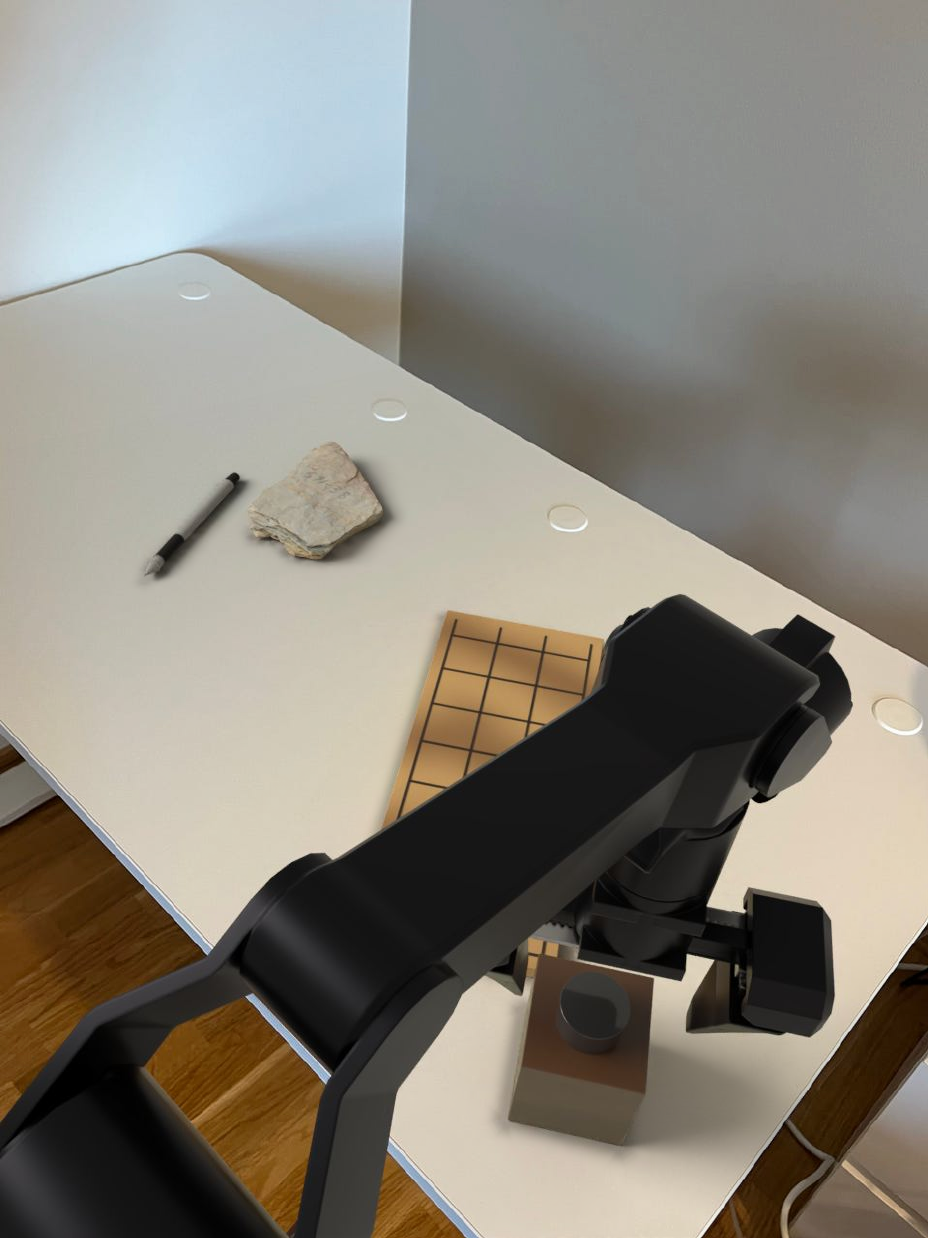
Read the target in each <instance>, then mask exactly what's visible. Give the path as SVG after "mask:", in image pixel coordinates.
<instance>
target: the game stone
mask: <svg viewBox="0 0 928 1238" xmlns="http://www.w3.org/2000/svg"><path fill="white" fill-rule="evenodd" d="M629 1017H630V1002H629V999H628V996H627V994H626V992H625V990H624V989H623V988H622V986H621V985H620V984H619V983H618V982H617V981H616V980H614V979H613V978H611V977H610V976H608V975H605V974H603V973H599V972H583V973H580V974H577V975H575V976H573V977H572V978H571V979H569V980H568V981H567V983H566V984H565V985H564V987H563V989H562V991H561V995H560V998H559V1002H558V1005H557V1009H556V1024H557V1028H558V1031H559V1033H560V1035H561V1036H562V1038H563V1039H564V1040H565V1041H566V1042H567V1043H568V1044H569V1045H570V1046H571V1047H573V1048H574V1049H576V1050H578V1051H580V1052H583V1053H587V1054H601V1053H605V1052H607V1051H609V1050H611V1049H613V1048H614V1047H615V1046H616V1045H617V1044H618V1043H619V1041H620V1040H621V1038H622V1036H623V1033H624V1031H625V1028H626V1026H627V1023H628V1020H629Z"/></svg>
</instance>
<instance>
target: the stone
mask: <svg viewBox="0 0 928 1238" xmlns="http://www.w3.org/2000/svg"><path fill="white" fill-rule="evenodd" d="M246 513H247V515H248V517H249V519H251V520H250V526H249V528H250V530H253V536H254V537H255V538H256V539H262V538H268V537H271V538H272V539H274V540H277V541H279V542H280V544H282V545H284V547H285V550H286V552H288V553H289V554H290V555H291V556H292V557H293V556H294V557H302V558H305V559H306V558H307V559H310V560H311V559H312V560H321V559H323V558H324V557H325V556H326V555H327V554H328V553H330V552H331V550H333V549H334V547H337V546H339V545H340V544H342V543H343V542H345V541H346V540H348V539H349V538H350V537H352V536H353V535H355V534H357V533H359V532H362V531H363V530H365V529H367V528H370V527H371V526H373V525H374V524H377V523H378V522H380V521H381V518H382V517H383V513H384V511H383V507H382V505H381V503H380V502H379V499H378V498H377V496H376V494H375V492H374V491H373V490H372V489H371V487H370V484H369V482H368V481H366V479H365V478H364V477H363V475H362V473H361V472H360V470H359V468H357V465H355V463H354V462H353V460H352V459H351V457H350V456H349V454H348V453H347V451H345V449H343V447H342V446H341V445H340V444H339V443H338V442H336V441H327V442H325V443H323V444H321V445H320V446H318V447H313V448H312V449H311V450H309V451H308V452H307V454H306V455H305V456H304V458H303V459H302V461H300V462H298V463H297V464H296V465H295V466H294V467H293V469H292V470H291V471H290V472H289V473H288V474H287V475H286V476H285V477H284V478H283V479H281V480H279V481H278V482H276V483H274V484H273V485H271V486H269V487H266V488H265V489H263V490H262V491H261V492H260V494H259V496H258V497H257V499H256V500H254V501H253V502H252V503H251V504H250V506H249V507H248V508H247V510H246Z"/></svg>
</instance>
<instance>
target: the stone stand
mask: <svg viewBox="0 0 928 1238" xmlns="http://www.w3.org/2000/svg"><path fill="white" fill-rule="evenodd" d="M583 972H599V973H603V974H605V975H608V976H610V977H611V978H613V979H614V980H616V981H617V982H618V983H619V984H620V985H621V986H622V988H623V989H624V990H625V992H626V994H627V996H628V999H629V1002H630V1017H629V1020H628V1023H627V1026H626V1028H625V1031H624V1033H623V1036H622V1038H621V1040H620V1041H619V1043H618V1044H617V1045H616V1046H615V1047H614V1048H613V1049H611V1050H609V1051H607V1052H605V1053H601V1054H587V1053H583V1052H580V1051H578V1050H576V1049H574V1048H573V1047H571V1046H570V1045H569V1044H568V1043H567V1042H566V1041H565V1040H564V1039H563V1038H562V1036H561V1035H560V1033H559V1031H558V1028H557V1024H556V1009H557V1005H558V1002H559V998H560V995H561V991H562V989H563V987H564V985H565V984H566V983H567V981H568V980H569V979H571V978H572V977H573V976H575V975H577V974H580V973H583ZM654 986H655V977H652V976H648V975H642V974H637V973H633V972H627V971H623V970H619V969H616V968H615V969H614V968H611V967H610V968H609V967H604V966H600V965H596V964H592V963H586V962H582V961H577V960H572V959H568V958H563V957H558V956H557V957H554V956H549V955H545V954H539V955H538V959H537V964H536V968H535V972H534V977H532V982H531V985H530V989H529V994H528V999H527V1003H526V1007H525V1011H524V1017H523V1024H522V1028H521V1034H520V1035H521V1036H520V1041H519V1048H518V1054H517V1059H516V1067H515V1072H514V1077H513V1083H512V1084H513V1085H512V1090H511V1096H510V1103H509V1108H508V1114H507V1115H508V1116H507V1120H508V1121H510V1122H514V1123H518V1124H523V1125H527V1126H532V1127H537V1128H541V1129H544V1130H548V1131H549V1130H550V1131H553V1132H558V1133H562V1134H567V1135H570V1136H575V1137H579V1138H585V1139H589V1140H593V1141H597V1142H602V1143H606V1144H610V1145H614V1146H619V1147H622V1145H623V1143H624V1141H625V1139H626V1137H627V1134H628V1132H629V1130H630V1128H631V1127H632V1124H633V1121H634V1120H635V1118H636V1115H637V1113H638V1111H639V1108H640V1107H641V1105H642V1102H643V1100H644V1098H645V1095H646V1093H647V1080H648V1068H649V1056H650V1055H649V1053H650V1041H651V1027H652V1015H653V1014H652V1013H653V1001H654Z"/></svg>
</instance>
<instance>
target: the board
mask: <svg viewBox="0 0 928 1238" xmlns="http://www.w3.org/2000/svg"><path fill="white" fill-rule="evenodd" d="M604 641H605V639H604V638H601V637H595V636H589V635H585V634H580V633H573V632H569V631H562V630H557V629H551V628H547V627H541V626H536V625H530V624H525V623H520V622H514V621H509V620H503V619H499V618H493V617H487V616H481V615H476V614H470V613H467V612H459V611H455V610H449V609H447V611H446V613H445V616H444V620H443V624H442V627H441V629H440V633H439V637H438V640H437V643H436V646H435V650H434V653H433V656H432V660H431V663H430V665H429V670H428V673H427V676H426V680H425V683H424V686H423V690H422V693H421V695H420V699H419V702H418V705H417V709H416V713H415V716H414V719H413V723H412V726H411V729H410V732H409V735H408V739H407V742H406V746H405V749H404V753H403V755H402V759H401V762H400V765H399V768H398V772H397V775H396V778H395V782H394V785H393V789H392V792H391V794H390V798H389V801H388V805H387V809H386V812H385V815H384V817H383V822H382V825H381V828H380V830H382V829H383V828H385V827H386V826H388V825H389V824H391V823H392V822H394V821H396V820H397V819H399V818H400V817H402V816H403V815H405V814H407V813H408V812H410V811H411V810H413V809H414V808H416V807H417V806H419V805H421V804H422V803H424V802H425V801H427V800H428V799H430V798H431V797H433V796H435V795H436V794H438V793H439V792H441V791H442V790H444V789H445V788H447V787H449V786H450V785H452V784H453V783H455V782H456V781H458V780H460V779H461V778H463V777H464V776H466V775H467V774H469V773H470V772H472V771H474V770H475V769H477V768H478V767H480V766H481V765H483V764H484V763H486V762H488V761H489V760H491V759H492V758H494V757H495V756H497V755H498V754H500V753H502V752H503V751H505V750H506V749H508V748H509V747H511V746H513V745H514V744H516V743H517V742H519V741H520V740H522V739H523V738H525V737H527V736H528V735H530V734H531V733H533V732H534V731H536V730H537V729H539V728H541V727H542V726H544V725H545V724H547V723H548V722H550V721H551V720H553V719H555V718H556V717H558V716H559V715H561V714H562V713H564V712H566V711H567V710H569V709H570V708H572V707H573V706H575V705H576V704H578V703H579V702H581V701H582V700H583V699H584V698H586V697H587V696H588V695H589V694H590V693H591V690H592V688H593V685H594V682H595V679H596V677H597V674H598V671H599V667H600V664H601V661H602V654H603V649H604V648H603V647H604ZM559 949H560V944H555V943H550V942H546V941H541V940H537V939H532V938H528V967H527V973H526V977H528V978H533V977H534V972H535V968H536V964H537V959H538V955H539V954H545V955H549V956H554V957H558V956H559Z"/></svg>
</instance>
